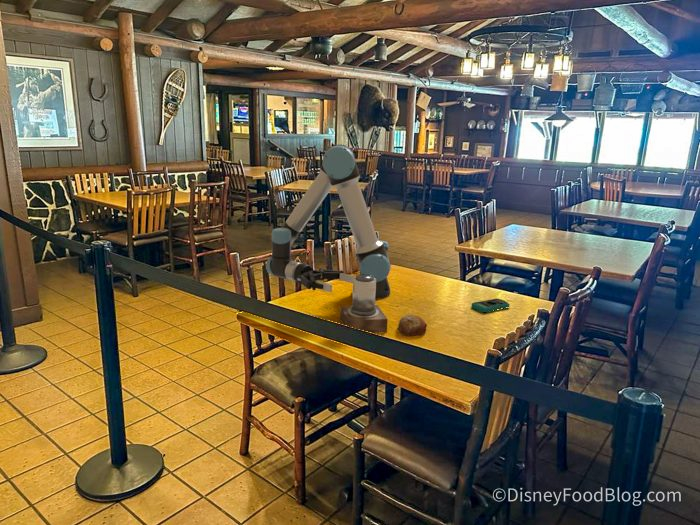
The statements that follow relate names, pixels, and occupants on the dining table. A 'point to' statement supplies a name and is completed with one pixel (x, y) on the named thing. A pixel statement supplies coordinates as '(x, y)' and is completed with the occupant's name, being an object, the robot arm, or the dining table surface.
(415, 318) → the bread roll
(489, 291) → the dining table surface
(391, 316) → the dining table surface
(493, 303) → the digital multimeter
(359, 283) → the cylinder
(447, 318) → the dining table surface
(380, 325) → the stand
